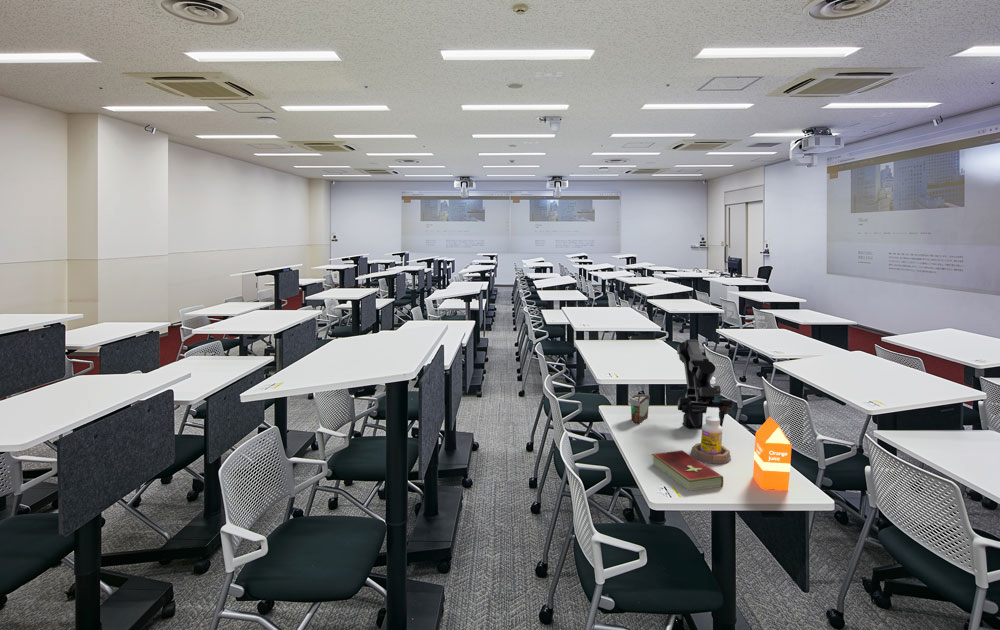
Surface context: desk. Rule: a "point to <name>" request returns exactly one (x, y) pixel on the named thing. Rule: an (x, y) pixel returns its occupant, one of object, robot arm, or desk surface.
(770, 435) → the orange juice
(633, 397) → the food container
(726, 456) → the coaster ring
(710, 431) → the supplement bottle
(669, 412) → the desk surface
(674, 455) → the hardcover book
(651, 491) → the desk surface
